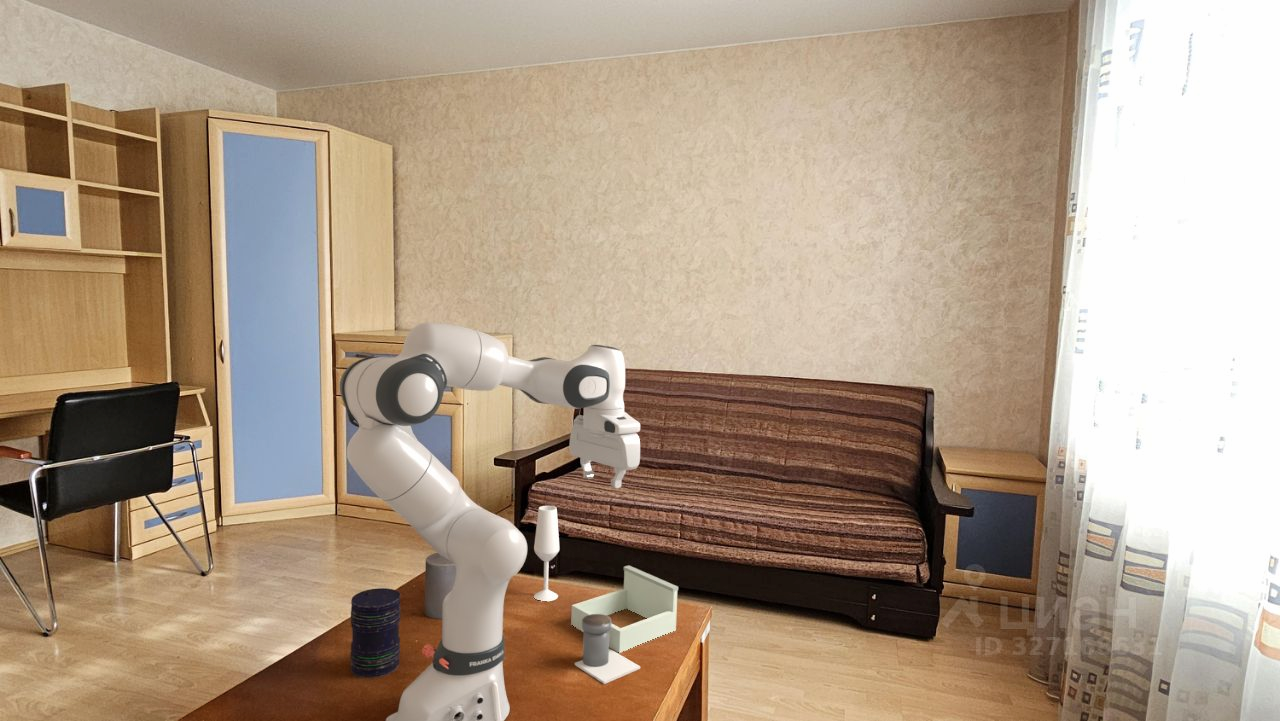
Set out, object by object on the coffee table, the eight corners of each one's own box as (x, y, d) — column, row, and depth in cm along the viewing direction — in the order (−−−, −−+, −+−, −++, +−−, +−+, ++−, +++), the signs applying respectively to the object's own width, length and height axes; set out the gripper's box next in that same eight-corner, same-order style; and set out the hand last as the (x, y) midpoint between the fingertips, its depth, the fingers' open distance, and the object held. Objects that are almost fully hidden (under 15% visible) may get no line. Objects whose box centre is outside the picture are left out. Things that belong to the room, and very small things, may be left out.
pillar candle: (422, 606, 179) (422, 548, 178) (460, 600, 183) (461, 544, 182) (427, 622, 171) (428, 562, 169) (468, 616, 175) (469, 557, 173)
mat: (604, 684, 145) (604, 681, 145) (574, 665, 152) (574, 662, 152) (640, 668, 151) (640, 666, 151) (610, 651, 159) (610, 649, 159)
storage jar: (410, 663, 151) (411, 595, 150) (371, 683, 142) (372, 611, 141) (378, 650, 156) (379, 584, 155) (339, 669, 147) (340, 599, 146)
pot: (592, 670, 149) (593, 629, 148) (575, 658, 154) (576, 618, 153) (616, 661, 153) (617, 621, 152) (598, 650, 158) (599, 611, 157)
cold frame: (619, 653, 158) (620, 606, 157) (571, 625, 171) (572, 581, 171) (676, 630, 170) (678, 586, 170) (627, 605, 184) (628, 565, 183)
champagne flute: (563, 596, 188) (565, 508, 187) (544, 603, 183) (547, 513, 182) (546, 589, 193) (548, 503, 191) (527, 596, 187) (529, 507, 186)
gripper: (563, 414, 158) (561, 475, 159) (623, 427, 143) (621, 494, 144) (585, 412, 162) (583, 472, 163) (646, 425, 147) (643, 490, 148)
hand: (601, 482), depth 153 cm, fingers open, 8 cm apart
